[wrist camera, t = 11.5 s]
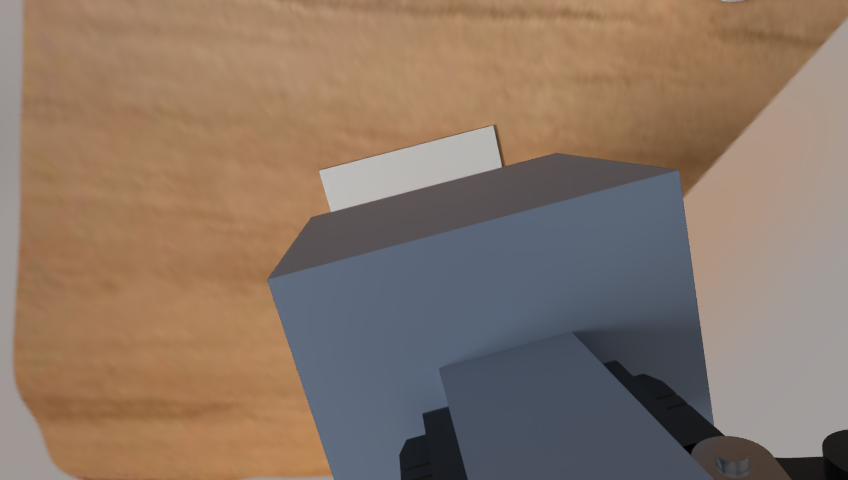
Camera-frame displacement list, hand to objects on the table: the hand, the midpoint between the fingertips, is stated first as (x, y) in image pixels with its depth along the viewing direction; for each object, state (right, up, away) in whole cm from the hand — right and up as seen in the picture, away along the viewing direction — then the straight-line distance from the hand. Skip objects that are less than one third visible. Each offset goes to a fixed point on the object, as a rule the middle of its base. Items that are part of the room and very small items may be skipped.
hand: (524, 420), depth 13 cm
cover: (-1, +2, +9) cm, 9 cm away
